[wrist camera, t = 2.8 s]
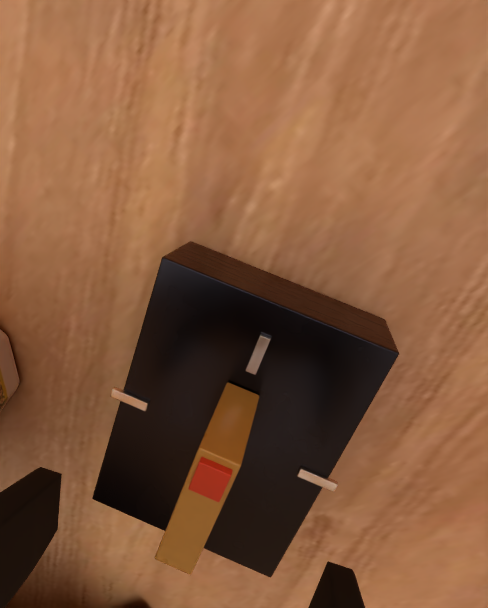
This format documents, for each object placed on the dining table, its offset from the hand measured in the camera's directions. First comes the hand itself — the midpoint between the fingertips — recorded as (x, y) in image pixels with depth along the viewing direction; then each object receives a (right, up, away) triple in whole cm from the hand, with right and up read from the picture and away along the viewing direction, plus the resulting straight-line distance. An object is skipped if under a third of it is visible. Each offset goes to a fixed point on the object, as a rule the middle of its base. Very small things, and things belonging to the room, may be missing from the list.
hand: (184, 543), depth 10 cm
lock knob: (+1, +1, +4) cm, 4 cm away
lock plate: (+1, +2, +7) cm, 7 cm away
